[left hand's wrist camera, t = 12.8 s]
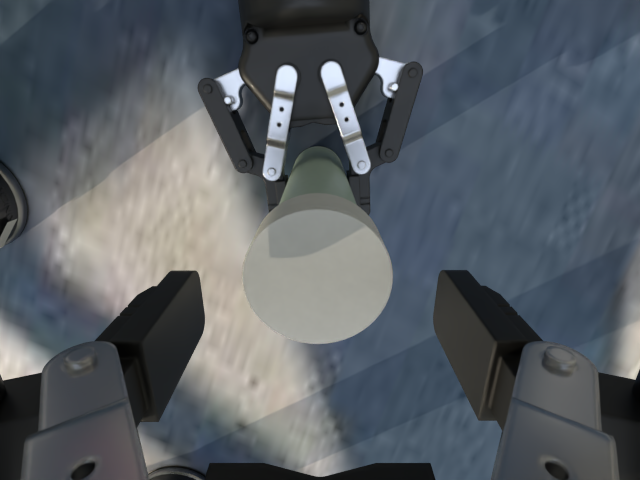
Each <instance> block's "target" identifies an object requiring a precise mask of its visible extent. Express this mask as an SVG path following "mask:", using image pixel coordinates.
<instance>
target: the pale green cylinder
mask: <svg viewBox="0 0 640 480" xmlns="http://www.w3.org/2000/svg"><path fill="white" fill-rule="evenodd" d="M310 193H325V194H331V195H336V196H339V197H342V198H345V199H347V200H349V201H351V202H353V203H354V204H356V201H355V199H354V196H353V193H352V191H351V188H350V185H349V182H348V180H347V177H346V174H345V171H344V169H343V166H342V163H341V161H340V159H339V157H338V156H337V155H336V154H335V153H334V152H333V151H332V150H330V149H328V148H326V147H321V146H315V147H310V148H308V149H306V150H304V151H303V152H302V153H301V154H300V155H299V156H298V157H297V159H296V161H295V164H294V166H293V169H292V172H291V174H290V177H289V179H288V182H287V185H286V187H285V190H284V193H283V195H282V198H281V201H280V203H279V205H280V204H281V203H282V202H284V201H286V200H288V199H290V198H293V197H296V196H299V195H304V194H310ZM356 205H357V204H356Z"/></svg>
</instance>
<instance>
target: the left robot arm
mask: <svg viewBox="0 0 640 480" xmlns="http://www.w3.org/2000/svg"><path fill="white" fill-rule="evenodd" d="M433 322H434V329H435V333H436V335H437V337H438V339H439V341H440V343H441V345H442V347H443V349H444V351H445V353H446V356H447V358H448V360H449V362H450V364H451V366H452V368H453V370H454V372H455V374H456V376H457V378H458V380H459V382H460V384H461V386H462V388H463V390H464V392H465V394H466V396H467V398H468V400H469V402H470V404H471V406H472V408H473V410H474V412H475V414H476V416H477V418H478V420H479V421H497V422H498V424H499V426H500V427H501V429H502V435H501V439H500V443H499V447H498V451H497V455H496V460H495V464H494V468H493V472H492V477H491V480H640V370H639V373H638V375H637V378H636V380H633V379H628V378H623V377H619V376H614V375H609V374H604V373H599V372H598V371H597V368H596V367H595V365H594V364H593V363H592V362H591V361H590V360H589V359H588V358H587V357H585V356H584V355H582V354H581V353H579V352H578V351H576V350H574V349H572V348H569V347H567V346H564V345H561V344H558V343H554V342H548V341H543V340H542V339H541V338H540V337H539V336H538V335H537V334H536V333H535V332H534V331H533V329H532V328H531V327H530V326H529V325H528V324H527V323H526V322H525V321H524V320H523V319H522V318H521V316H520V315H517V312H516V311H515V310H514V309H513V308H512V307H510V305H509V303H508V302H507V301H506V300H505V299H504V298H503V297H502V296H501V295H500V294H499V293H497V292H495V291H493V290H492V289H490V288H488V287H487V286H481V285H480V284H479V283H478V282H477V281H476V280H475V278H474V277H473V276H472V275H471V274H470V273H469V272H468V271H467V270H442V271H441V272H440V274H439V277H438V284H437V291H436V299H435V306H434V314H433ZM204 324H205V313H204V306H203V299H202V291H201V284H200V277H199V274H198V272H197V271H170V272H169V273H168V274H167V275H166V276H165V278H164V279H163V280H162V281H161V282H160V283H159V284H158V286H152V287H151V288H149V289H147V290H145V291H144V292H142V293H140V294H138V295H137V296H136V297H135V298H134V299H133V300H132V301H131V303H130V304H129V305H128V307H126V308H125V309H124V310H123V311H122V312H121V313H120V316H117V318H116V319H115V320H114V321H113V322H112V323H111V324H110V325H109V326H108V327H107V328H106V329H105V330H104V331H103V333H102V334H101V335H100V336H99V337H98V338H97V339H96V340H95V341H92V342H86V343H82V344H79V345H76V346H73V347H71V348H68V349H66V350H64V351H62V352H61V353H59V354H58V355H56V356H55V357H53V358H52V359H51V360H50V361H49V362H48V363H47V364H46V365H45V367H44V368H43V371H42V373H38V374H33V375H28V376H24V377H19V378H14V379H9V380H4V381H3V380H2V378H1V375H0V480H435V477H434V474H433V470H432V467H431V464H430V463H375V464H371V465H367V466H363V467H359V468H356V469H352V470H348V471H344V472H340V473H337V474H333V475H329V476H325V477H315V476H311V475H307V474H303V473H300V472H296V471H292V470H288V469H284V468H281V467H277V466H273V465H269V464H265V463H210V464H209V467H208V470H207V474H206V477H204V476H203V475H201V474H199V473H197V472H195V471H192V470H189V469H185V468H177V467H170V468H163V469H159V470H156V471H154V472H152V473H150V474H149V475H148V472H147V468H146V464H145V460H144V455H143V451H142V447H141V443H140V439H139V435H138V431H137V427H138V425H139V423H140V422H159V420H160V418H161V416H162V414H163V412H164V410H165V408H166V406H167V404H168V402H169V400H170V398H171V396H172V394H173V392H174V390H175V388H176V386H177V384H178V382H179V380H180V378H181V376H182V374H183V372H184V370H185V368H186V366H187V364H188V362H189V360H190V358H191V356H192V354H193V352H194V350H195V348H196V346H197V344H198V342H199V340H200V338H201V336H202V334H203V330H204Z"/></svg>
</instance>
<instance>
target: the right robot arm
mask: <svg viewBox="0 0 640 480" xmlns="http://www.w3.org/2000/svg"><path fill="white" fill-rule="evenodd" d="M238 3H239V11H240V18H241V26H242V33H243V50H242V54H241V57H240V60H239V65H238V69H236V70H234V71H231V72H229V73H227V74H225V75H222V76H220V77H218V78H216V79H210V78H204V79H202V80H201V81H200V82H199V84H198V92H199V94H200V96H201V98H202V100H203V102H204V104H205V107H206V109H207V111H208V113H209V115H210V117H211V119H212V121H213V123H214V125H215V127H216V130H217V132H218V134H219V136H220V138H221V140H222V142H223V144H224V146H225V148H226V151H227V153H228V155H229V157H230V159H231V161H232V163H233V165H234V167H235V169H236V170H237V171H238V172H240V173H250V174H254V175H257V176H259V177H261V178H262V179H263V180H264V182H265V185H266V193H267V201H268V208H269V213H270V212H271V211H272V210H273V209H274V208H275V207H277V206H278V205H279V203H280V201H281V198H282V195H283V193H284V190H285V187H286V185H287V182H288V175H285V174H284V166H285V160H286V155H287V149H288V144H289V140H290V135H291V130H292V127H301V126H304V125H307V124H310V123H313V122H314V123H319V124H324V125H330V124H336V125H337V128H338V131H339V134H340V136H341V139H342V142H343V145H344V147H345V150H346V153H347V156H348V159H349V170H348V171H347V180H348V182H349V185H350V188H351V191H352V193H353V196H354V199H355V201H356V204H357V206H359V207H360V208H361V209H362V210H363V211H365V212H366V213H367V215H368V216H369V214H370V184H369V176H370V173H371V171H372V170H373V169H374V168H375V167H377V166H379V165H381V164H383V163H385V162H387V163H390V162H393V161H395V160H396V159H397V157H398V154H399V151H400V148H401V144H402V141H403V138H404V134H405V131H406V128H407V125H408V121H409V118H410V115H411V111H412V108H413V105H414V101H415V98H416V95H417V91H418V88H419V85H420V82H421V78H422V75H423V69H422V66H421V65H420V64H419V63H417V62H409V63H402V62H398V61H394V60H390V59H386V58H382V57H379V53H378V50H377V48H376V46H375V44H374V42H373V40H372V37H371V33H370V14H369V0H238ZM374 74H375V75H377V76H378V77H379V79H380V82H381V87H380V90H381V93H382V95H383V96H384V97H386V98H388V100H387V103H386V107H385V111H384V114H383V118H382V122H381V125H380V129H379V132H378V136H377V140H376V143H375V144H372V145H370V146H368V147H365V143H364V140H363V137H362V133H361V129H360V126H359V123H358V120H357V117H356V114H355V111H354V107H355V105H356V104H357V102H358V100H359V99H360V97H361V95H362V94H363V92H364V90H365V89H366V87H367V85H368V84H369V82H370V81H371V79H372V77H373V76H374ZM245 85H246V86H247V87H248V88H249V89H250V90H251V91H252V93H253V94H254V95H255V96H256V97H257V99H258V100H259V101H260V102H261V103H262V104H263V106H264V107H265V108H266V109H267V110H268V112H269V113H270V114H271V115H270V121H269V127H268V133H267V145H266V152H265V155H264V154H260V153H256V151H255V149H254V147H253V144H252V142H251V140H250V138H249V135H248V133H247V131H246V129H245V126H244V124H243V122H242V120H241V118H240V115H239V113H238V111H237V110H238V109H240V108H241V106H242V104H243V98H242V89H243V87H244V86H245ZM26 221H27V204H26V199H25V196H24V193H23V191H22V189H21V187H20V185H19V183H18V182H17V180H16V179H15V177H14V176H13V175H12V173H11V172H10V171H9V170H8V169H7V168H6V167H5V166H4V165H3V164H2V163H1V162H0V248H2V247H3V246H4V245H7V244H9V243H11V242H12V241H14V240H15V239H16V238H17V237H18V236H19V235H20V234H21V233H22V231H23V229H24V227H25V224H26Z"/></svg>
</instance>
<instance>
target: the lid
mask: <svg viewBox="0 0 640 480" xmlns="http://www.w3.org/2000/svg"><path fill="white" fill-rule="evenodd" d="M242 283H243V289H244V293H245V296H246V299H247V301H248V303H249V305H250V307H251V309H252V310H253V312H254V313H255V315H256V316H257V317H258V318H259V319H260V320H261V321H262V322H263V323H264V324H265V325H266V326H267V327H268V328H270V329H271V330H273V331H274V332H276V333H278V334H280V335H281V336H283V337H286V338H288V339H291V340H295V341H298V342H303V343H311V344H324V343H332V342H337V341H340V340H344V339H347V338H349V337H352V336H354V335H356V334H357V333H359V332H361V331H362V330H364V329H365V328H367V327H368V326H369V325H370V324H371V323H372V322H373V321H374V320H375V319H376V318H377V317H378V316H379V315H380V313H381V312H382V310H383V309H384V307H385V305H386V303H387V301H388V299H389V296H390V293H391V289H392V283H393V270H392V263H391V260H390V256H389V254H388V251H387V249H386V247H385V245H384V243H383V241H382V238H381V236H380V234H379V232H378V230H377V228H376V225H375V224H374V222H373V221H372V219H371V218H370V217H369V216H368V215H367V213H366V212H365V211H363V210H362V209H361V208H360V207H359V206H357V205H356V204H354V203H353V202H351V201H349V200H347V199H345V198H342V197H339V196H336V195H331V194H325V193H310V194H304V195H299V196H296V197H293V198H290V199H288V200H286V201H284V202H282V203H281V204H280V205H278V206H277V207H275V208H274V209H273V210H272V211H271V212H270V213H269V214H268V215H267V216H266V217H265V218H264V220H263V221H262V223H261V224H260V226H259V228H258V230H257V232H256V234H255V236H254V239H253V241H252V243H251V245H250V247H249V249H248V251H247V254H246V256H245V260H244V263H243V270H242Z"/></svg>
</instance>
